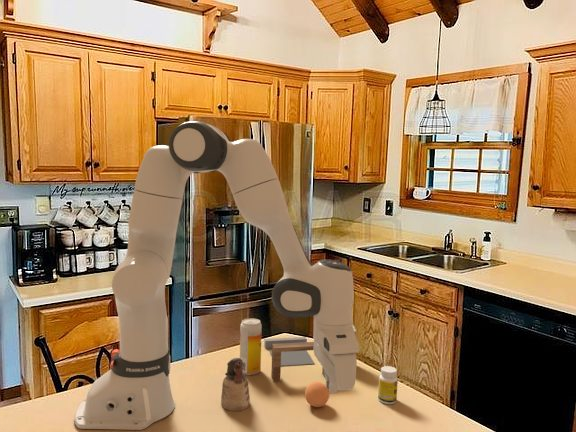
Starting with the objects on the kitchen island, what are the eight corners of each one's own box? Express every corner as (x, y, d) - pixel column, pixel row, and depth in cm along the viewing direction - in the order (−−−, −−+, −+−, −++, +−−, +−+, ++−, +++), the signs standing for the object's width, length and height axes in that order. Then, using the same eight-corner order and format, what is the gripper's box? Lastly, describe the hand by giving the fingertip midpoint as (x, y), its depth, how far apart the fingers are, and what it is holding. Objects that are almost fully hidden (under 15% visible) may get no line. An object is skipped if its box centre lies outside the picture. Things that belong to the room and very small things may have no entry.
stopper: (265, 348, 154) (265, 341, 153) (264, 346, 156) (264, 338, 155) (306, 346, 157) (306, 339, 156) (305, 344, 159) (305, 336, 158)
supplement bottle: (396, 405, 119) (398, 374, 118) (377, 403, 120) (379, 372, 119) (396, 396, 124) (398, 366, 123) (378, 394, 125) (379, 364, 124)
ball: (308, 412, 115) (308, 389, 114) (302, 400, 121) (303, 378, 120) (331, 410, 116) (332, 387, 115) (324, 399, 122) (325, 376, 121)
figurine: (246, 395, 122) (247, 351, 121) (252, 409, 116) (253, 362, 114) (218, 399, 120) (219, 354, 119) (224, 413, 113) (224, 365, 112)
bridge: (331, 377, 134) (333, 344, 133) (273, 381, 131) (274, 348, 129) (328, 373, 137) (330, 341, 136) (271, 376, 133) (272, 343, 132)
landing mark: (275, 366, 140) (275, 365, 140) (269, 350, 152) (269, 350, 152) (314, 364, 143) (314, 363, 143) (305, 348, 154) (305, 348, 154)
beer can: (264, 370, 138) (265, 320, 136) (252, 377, 133) (253, 326, 131) (248, 365, 141) (249, 316, 139) (235, 372, 136) (236, 322, 134)
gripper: (307, 317, 116) (306, 371, 117) (333, 350, 96) (331, 414, 97) (332, 316, 117) (331, 369, 118) (362, 348, 97) (360, 411, 99)
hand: (331, 390), depth 108 cm, fingers closed
